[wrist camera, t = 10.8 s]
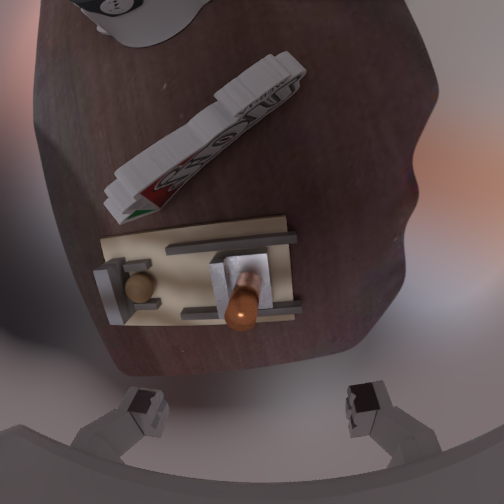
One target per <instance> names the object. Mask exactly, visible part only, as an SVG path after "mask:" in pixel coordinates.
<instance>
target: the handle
mask: <svg viewBox="0 0 504 504" xmlns="http://www.w3.org/2000/svg"><path fill="white" fill-rule="evenodd" d="M209 269H210V274H211V279H212V285H213V290H214V295H215V300H216V306H217V311H218V316H219V319H225V322H226V323H227V325H228V326H229V327H230V328H232V329H234V330H236V331H247V330H249V329H251V328H252V327H253V326H254V325H255V323H256V319H257V313H258V309H268V308H273V292H272V282H271V273H270V264H269V255H268V247H266V248H255V249H245V250H234V251H224V252H217V253H216V254H215V256H214V257H213V259H212V260H211V261H210V263H209Z"/></svg>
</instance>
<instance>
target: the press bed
mask: <svg viewBox="0 0 504 504" xmlns="http://www.w3.org/2000/svg"><path fill="white" fill-rule="evenodd" d="M100 241H101V245H102V249H103V254H104V258H105V261H106V262H105V263H104V264H102V265H101V266H99V267H98V268H96V269H95V270H93V272H94V276H95V279H96V283H97V286H98V289H99V293H100V296H101V299H102V302H103V305H104V308H105V311H106V314H107V317H108V320H109V322H110V325H141V326H176V325H217V324H227V323H226V322H225V319H219V316H218V311H217V306H216V300H215V295H214V290H213V285H212V279H211V274H210V269H209V263H210V261H211V260H212V259H213V257H214V256H215V254H216V253H217V252H224V251H234V250H245V249H255V248H266V247H268V255H269V264H270V273H271V282H272V292H273V308H268V309H258V313H257V319H256V322H271V321H284V320H295V317H294V314H301V313H302V304H301V300H296V301H293V290H292V277H291V265H290V254H289V244H293V243H297V234H296V231H291V232H287V222H286V215H276V216H266V217H256V218H247V219H238V220H229V221H220V222H212V223H204V224H195V225H187V226H180V227H172V228H164V229H157V230H150V231H143V232H136V233H129V234H122V235H115V236H109V237H104V238H102V239H100ZM134 274H144V275H146V276H148V277H149V278H150V279H151V281H152V283H153V286H154V292H153V295H152V297H151V298H150V299H149V300H148V301H147V302H144V303H135V302H133V301H131V300H130V299H129V298H128V296H127V294H126V291H125V285H126V282H127V280H128V279H129V278H130V277H131V276H132V275H134Z"/></svg>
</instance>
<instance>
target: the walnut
mask: <svg viewBox="0 0 504 504" xmlns="http://www.w3.org/2000/svg"><path fill="white" fill-rule="evenodd" d="M125 291H126V294H127V296H128V298H129V299H130V300H131V301H133V302H135V303H144V302H147V301H148V300H149V299H150V298H151V297H152V295H153V292H154V286H153V283H152V281H151V279H150V278H149V277H148V276H146V275H144V274H134V275H132V276H131V277H130V278H129V279H128V280H127V282H126V285H125Z"/></svg>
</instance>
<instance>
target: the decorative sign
mask: <svg viewBox="0 0 504 504" xmlns="http://www.w3.org/2000/svg"><path fill="white" fill-rule="evenodd" d="M306 72H307V71H306V69H305V68H304V67H303V66H302V65H301V64H300V63H299V62H298V61H297V60H296V59H295V58H294V57H293V56H292V55H291V54H290V53H289V52H287V51H285V52H282V53H280V54H278V55H277V56H275V57H274V56H273V55H272V54H269V55H267V56H266V57H265V58H263V59H261V60H260V61H259V62H257V63H255V64H254V65H253V66H251V67H250V68H248V69H247V70H245V71H244V72H243V73H241V74H240V75H239V76H238V77H237V78H234V79H233V80H232V81H230V82H229V83H228V84H226V85H225V86H224V87H223V88H222V89H220V90H219V91H217V92H216V93H215V94H214V97H215V98H216V99H217V100H218V101H217V102H215V103H213V104H211V105H210V106H208V107H206V108H205V109H204V110H202V111H201V112H199V113H198V114H197V115H196V116H194V117H193V118H192V119H191V120H190V121H189V122H188V123H187V124H186V125H184V126H182V127H181V128H179V129H177V130H176V131H174V132H172V133H171V134H169V135H167V136H166V137H164V138H163V139H161V140H159V141H158V142H156V143H155V144H153V145H152V146H150V147H149V148H147V149H146V150H144V151H143V152H141V153H140V154H138V155H137V156H136V157H134V158H133V159H131V160H130V161H128V162H127V163H126V164H124V165H123V166H121V167H120V168H119V169H118V170H116V172H115V173H114V175H115V176H116V177H117V179H116V180H115V181H114V182H112V183H111V184H110V185H109V186H108V187H107V188H106V189H105V190H104V192H105V193H106V194H107V196H108V197H109V198H108V199H107V200H106V201H105V202H104V205H105V206H106V208H107V209H108V210H109V212H110V213H111V214H112V215H113V217H114V218H115V219H116V220H117V222H118V223H119V224H120V225H121V224H124V223H127V222H129V221H132V220H135V219H138V218H140V217H143V216H146V215H149V214H152V213H155V212H158V211H159V210H160V209H161V208H162V207H163V206H164V205H165V204H166V203H167V202H168V201H169V200H170V199H171V198H172V197H173V196H174V195H175V194H176V192H177V191H178V190H179V189H180V188H181V187H182V186H183V185H184V184H185V183H186V182H187V181H188V180H189V179H190V178H191V177H193V176H194V175H195V174H196V173H197V172H198V171H199V170H200V169H201V168H202V167H203V166H204V165H205V164H207V163H208V162H209V161H211V160H212V159H213V158H214V157H216V156H217V155H218V154H219V153H220V152H221V151H222V150H223V149H225V148H226V147H227V146H229V145H230V144H231V143H232V142H234V141H235V140H236V139H237V138H238V137H239V136H241V135H242V134H243V133H244V132H245V131H246V130H248V129H249V128H251V127H252V126H253V125H255V124H256V123H257V122H259V121H260V120H261V119H262V118H264V117H265V116H266V115H267V114H269V113H270V112H272V111H273V110H274V109H276V108H277V107H278V106H280V105H281V104H282V103H284V102H285V101H286V100H287V99H289V98H290V97H291V96H292V95H293V94H294V93H295V92H296V91H297V90H298V89H299V87H300V83H299V80H301V79H302V78H303V77H304V75H305V74H306Z"/></svg>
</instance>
